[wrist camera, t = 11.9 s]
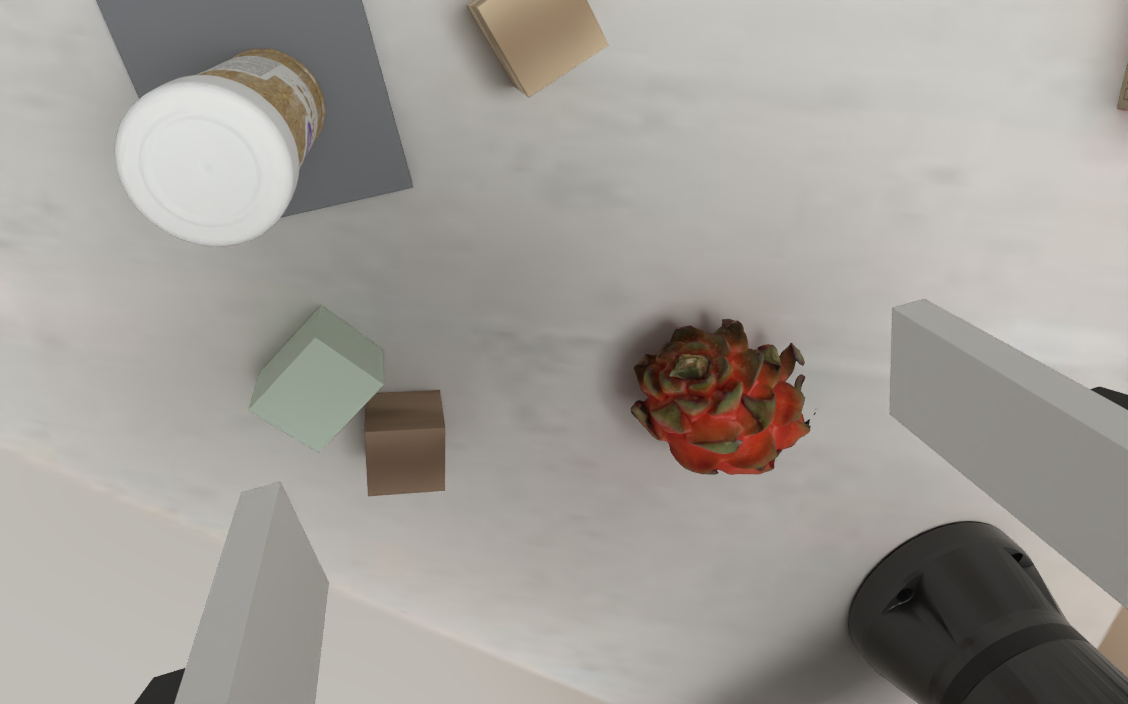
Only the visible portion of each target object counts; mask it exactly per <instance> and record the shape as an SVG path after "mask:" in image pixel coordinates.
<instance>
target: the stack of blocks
mask: <svg viewBox="0 0 1128 704" xmlns="http://www.w3.org/2000/svg"><path fill="white" fill-rule="evenodd" d="M1117 108H1118V109H1121V110H1127V111H1128V64H1127V68H1126V72H1125V76H1124V80H1123V84H1122V88H1121V92H1120V96H1119V100H1118V105H1117Z"/></svg>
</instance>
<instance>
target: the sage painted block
mask: <svg viewBox="0 0 1128 704" xmlns="http://www.w3.org/2000/svg"><path fill="white" fill-rule="evenodd" d="M383 385H384V350H383V349H382V348H381V347H379V346H378V345H377V344H375V343H374V342H372V341H371V340H370V339H368V338H367V337H365V336H364V335H363V334H361V333H360V332H358V331H357V330H356V329H354V328H353V327H351V326H350V325H349V324H347V323H346V322H345V321H343V320H342V319H340V318H339V317H338V316H336V315H335V314H333V313H332V312H331V311H329V310H328V309H326V308H325V307H324V306H322V305H321V306H320V307H319V308H318V309H317V310H316V311H315V312H314V313H313V314H312V316H311V317H310V318H309V319H308V320H307V321H306V322H305V323H304V324H303V325H302V327H301V328H300V329H299V330H298V331H297V332H296V333H295V334H294V335H293V336H292V337H291V339H290V340H289V341H288V342H287V343H286V344H285V345H284V346H283V347H282V348H281V349H280V351H279V352H278V353H277V354H276V355H275V356H274V357H273V358H272V359H271V360H270V362H269V363H268V364H267V365H266V366H265V367H264V368H263V369H262V370H261V371H260V373H259V377H258V380H257V383H256V386H255V390H254V393H253V396H252V399H251V403H250V406H249V409H248V411H250V412H251V413H253V414H255V415H256V416H258V417H260V418H261V419H263V420H265V421H266V422H268V423H270V424H271V425H273V426H275V427H276V428H278V429H280V430H281V431H283V432H285V433H286V434H288V435H290V436H291V437H293V438H295V439H296V440H298V441H300V442H301V443H303V444H305V445H306V446H308V447H310V448H311V449H313V450H315V451H316V452H318V453H319V452H320V451H321V450H322V449H323V448H324V447H325V446H326V445H327V444H328V443H329V441H330V440H331V439H332V438H333V437H334V436H335V435H336V434H337V433H338V432H339V431H340V430H341V429H342V428H343V427H344V426H345V425H346V424H347V423H348V422H349V421H350V420H351V419H352V418H353V417H354V415H355V414H356V413H357V412H358V411H359V410H360V409H361V408H362V407H363V406H364V405H365V404H366V403H367V402H368V401H369V400H370V399H371V398H372V397H373V396H374V395H375V394H376V393H377V392H378V391H379V390H380V388H381V387H382V386H383Z"/></svg>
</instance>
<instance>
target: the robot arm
mask: <svg viewBox="0 0 1128 704" xmlns="http://www.w3.org/2000/svg"><path fill="white" fill-rule="evenodd" d="M889 414H890V415H891V416H892V417H894V418H895V419H896V420H897V421H898V422H900V423H901V424H902V425H903V426H905V427H906V428H907V429H908V430H909V431H911V432H912V433H913V434H914V435H916V436H917V437H918V438H919V439H920V440H922V441H923V442H924V443H925V444H927V445H928V446H929V447H930V448H931V449H933V450H934V451H935V452H936V453H937V454H939V455H940V456H941V457H942V458H944V459H945V460H946V461H947V462H948V463H950V464H951V465H952V466H953V467H955V468H956V469H957V470H958V471H959V472H961V473H962V474H963V475H964V476H966V477H967V478H968V479H969V480H970V481H972V482H973V483H974V484H975V485H976V486H978V487H979V488H980V489H981V490H983V491H984V492H985V493H986V494H987V495H989V496H990V497H991V498H992V499H994V500H995V501H996V502H997V503H998V504H1000V505H1001V506H1002V507H1003V508H1005V509H1006V510H1007V511H1008V512H1009V513H1011V514H1012V515H1013V516H1014V517H1016V518H1017V519H1018V520H1019V521H1020V522H1022V523H1023V524H1024V525H1025V526H1026V527H1028V528H1029V529H1030V530H1031V531H1033V532H1034V533H1035V534H1036V535H1037V536H1039V537H1040V538H1041V539H1042V540H1044V541H1045V542H1046V543H1047V544H1048V545H1050V546H1051V547H1052V548H1053V549H1055V550H1056V551H1057V552H1058V553H1059V554H1061V555H1062V556H1063V557H1064V558H1065V559H1067V560H1068V561H1069V562H1070V563H1072V564H1073V565H1074V566H1075V567H1076V568H1078V569H1079V570H1080V571H1081V572H1083V573H1084V574H1085V575H1086V576H1087V577H1089V578H1090V579H1091V580H1092V581H1094V582H1095V583H1096V584H1097V585H1098V586H1100V587H1101V588H1102V589H1103V590H1104V591H1106V592H1107V593H1108V594H1109V595H1111V596H1112V597H1113V598H1114V599H1115V600H1117V601H1118V602H1119V603H1120V604H1122V605H1123V606H1124V607H1125V608H1126V609H1128V395H1126V394H1123V393H1120V392H1116V391H1113V390H1109V389H1106V388H1103V387H1096V388H1093V389H1088V388H1086V387H1085V386H1083V385H1081V384H1079V383H1077V382H1075V381H1074V380H1072V379H1070V378H1068V377H1066V376H1065V375H1063V374H1061V373H1059V372H1057V371H1055V370H1054V369H1052V368H1050V367H1048V366H1046V365H1044V364H1043V363H1041V362H1039V361H1037V360H1035V359H1034V358H1032V357H1030V356H1028V355H1026V354H1024V353H1023V352H1021V351H1019V350H1017V349H1015V348H1013V347H1012V346H1010V345H1008V344H1006V343H1004V342H1003V341H1001V340H999V339H997V338H995V337H993V336H992V335H990V334H988V333H986V332H984V331H982V330H981V329H979V328H977V327H975V326H973V325H972V324H970V323H968V322H966V321H964V320H962V319H961V318H959V317H957V316H955V315H953V314H951V313H950V312H948V311H946V310H944V309H942V308H941V307H939V306H937V305H935V304H933V303H931V302H930V301H928V300H926V299H922V300H918V301H915V302H911V303H908V304H904V305H901V306H897V307H894V308H892V333H891V372H890V412H889ZM328 585H329V582H328V579H327V577H326V575H325V573H324V571H323V569H322V567H321V565H320V563H319V561H318V559H317V557H316V554H315V552H314V550H313V548H312V546H311V544H310V542H309V540H308V538H307V536H306V534H305V532H304V529H303V527H302V525H301V523H300V521H299V519H298V517H297V515H296V513H295V511H294V509H293V507H292V505H291V502H290V500H289V498H288V496H287V494H286V492H285V490H284V488H283V486H282V484H281V482H277V483H273V484H270V485H266V486H263V487H259V488H256V489H252V490H249V491H245V492H242V493H241V495H240V498H239V501H238V504H237V507H236V511H235V514H234V517H233V520H232V523H231V526H230V530H229V533H228V536H227V539H226V542H225V545H224V548H223V552H222V555H221V558H220V561H219V565H218V567H217V571H216V574H215V577H214V580H213V583H212V587H211V590H210V593H209V596H208V599H207V602H206V605H205V609H204V612H203V615H202V618H201V621H200V625H199V628H198V631H197V634H196V637H195V640H194V644H193V646H192V650H191V653H190V656H189V659H188V662H187V666H186V668H184V669H180V670H177V671H174V672H171V673H167V674H164V675H161V676H158V677H154V678H153V679H152V681H151V682H150V683H149V685H148V686H147V687H146V689H145V690H144V691H143V693H142V694H141V696H140V697H139V698H138V699H137V701H136V702H135V703H134V704H315V699H316V690H317V681H318V673H319V663H320V655H321V647H322V638H323V629H324V620H325V612H326V603H327V594H328ZM849 632H850V636H851V638H852V641H853V643H854V644H855V646H856V647H857V648H858V650H859V651H860V652H861V654H862V655H863V657H864V658H865V659H866V661H867V662H868V664H869V665H870V666H871V667H872V668H873V669H874V670H875V671H876V672H877V673H879V674H880V675H881V676H883V677H884V678H886V679H887V680H888V681H890V682H891V683H892V684H893V685H895V686H896V687H897V688H898V689H900V690H901V691H902V692H904V693H905V694H906V695H908V696H909V697H910V698H912V699H913V700H914V701H916V702H917V703H918V704H1128V677H1127V676H1125V675H1124V674H1123V673H1122V672H1121V671H1120V670H1119V669H1118V668H1117V667H1115V665H1113V664H1112V663H1111V662H1110V661H1109V660H1108V659H1107V658H1106V657H1105V656H1104V655H1103V654H1101V653H1100V652H1099V651H1098V650H1097V649H1096V648H1095V647H1094V646H1093V645H1091V644H1090V643H1089V642H1088V641H1087V640H1086V639H1085V638H1084V637H1083V636H1082V635H1081V634H1080V633H1079V632H1078V631H1076V630H1075V629H1074V628H1073V627H1072V626H1071V625H1070V624H1069V622H1068V621H1067V620H1066V618H1065V616H1064V615H1063V613H1062V611H1061V610H1060V608H1059V606H1058V605H1057V603H1056V601H1055V600H1054V598H1053V596H1052V594H1051V593H1050V591H1049V589H1048V588H1047V586H1046V584H1045V583H1044V581H1043V579H1042V578H1041V576H1040V574H1039V572H1038V571H1037V569H1036V567H1035V566H1034V564H1033V562H1032V561H1031V559H1030V558H1029V556H1028V555H1027V554H1026V552H1025V551H1024V550H1023V549H1022V548H1021V547H1020V546H1018V545H1017V544H1016V543H1015V542H1014V541H1013V540H1012V539H1010V538H1009V537H1008V536H1007V535H1006V534H1005V533H1004V532H1002V531H1001V530H1000V529H998V528H996V527H994V526H991V525H988V524H984V523H976V522H966V523H957V524H952V525H947V526H944V527H940V528H937V529H935V530H932V531H930V532H927V533H925V534H923V535H921V536H919V537H917V538H915V539H913V540H911V541H910V542H908V543H906V544H905V545H903V546H902V547H900V548H899V549H898V550H896V551H895V552H894V553H892V554H891V555H890V556H889V557H888V558H886V559H885V560H884V561H883V562H882V563H881V564H880V565H879V566H878V567H877V568H876V569H875V570H874V571H873V572H872V573H871V575H870V576H869V577H868V578H867V580H866V581H865V582H864V584H863V585H862V587H861V589H860V590H859V592H858V594H857V596H856V598H855V600H854V602H853V605H852V608H851V612H850V617H849Z"/></svg>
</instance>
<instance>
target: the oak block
mask: <svg viewBox="0 0 1128 704" xmlns="http://www.w3.org/2000/svg"><path fill="white" fill-rule="evenodd" d="M467 6H468V7H469V9H470V11H471V13H472V14H473V16H474V18H475V19H476V21H477V23H478V25H479V26H480V28H481V30H482V32H483V33H484V35H485V37H486V38H487V40H488V42H489V44H490V45H491V47H492V49H493V51H494V52H495V54H496V56H497V57H498V59H499V61H500V63H501V64H502V66H503V68H504V70H505V71H506V73H507V75H508V76H509V78H510V80H511V82H512V83H513V85H514V87H516V88H517V89H518V90H520V91H521V92H522V93H524V94H525V95H526V96H528V97H531V96H532V95H534V94H535V93H537V92H538V91H540V90H541V89H543V88H544V87H546V86H547V85H549V84H550V83H552V82H553V81H555V80H556V79H558V78H559V77H561V76H562V75H564V74H565V73H567V72H568V71H570V70H571V69H573V68H575V67H576V66H578V65H579V64H581V63H582V62H584V61H585V60H587V59H588V58H590V57H591V56H593V55H594V54H596V53H597V52H599V51H600V50H602V49H603V48H605V47H606V46H608V43H607V41H606V39H605V37H604V34H603V32H602V30H601V28H600V26H599V24H598V22H597V20H596V18H595V16H594V14H593V12H592V10H591V8H590V6H589V4H588V2H587V0H474V1H473V2H471V3H470V4H468V5H467Z"/></svg>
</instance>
